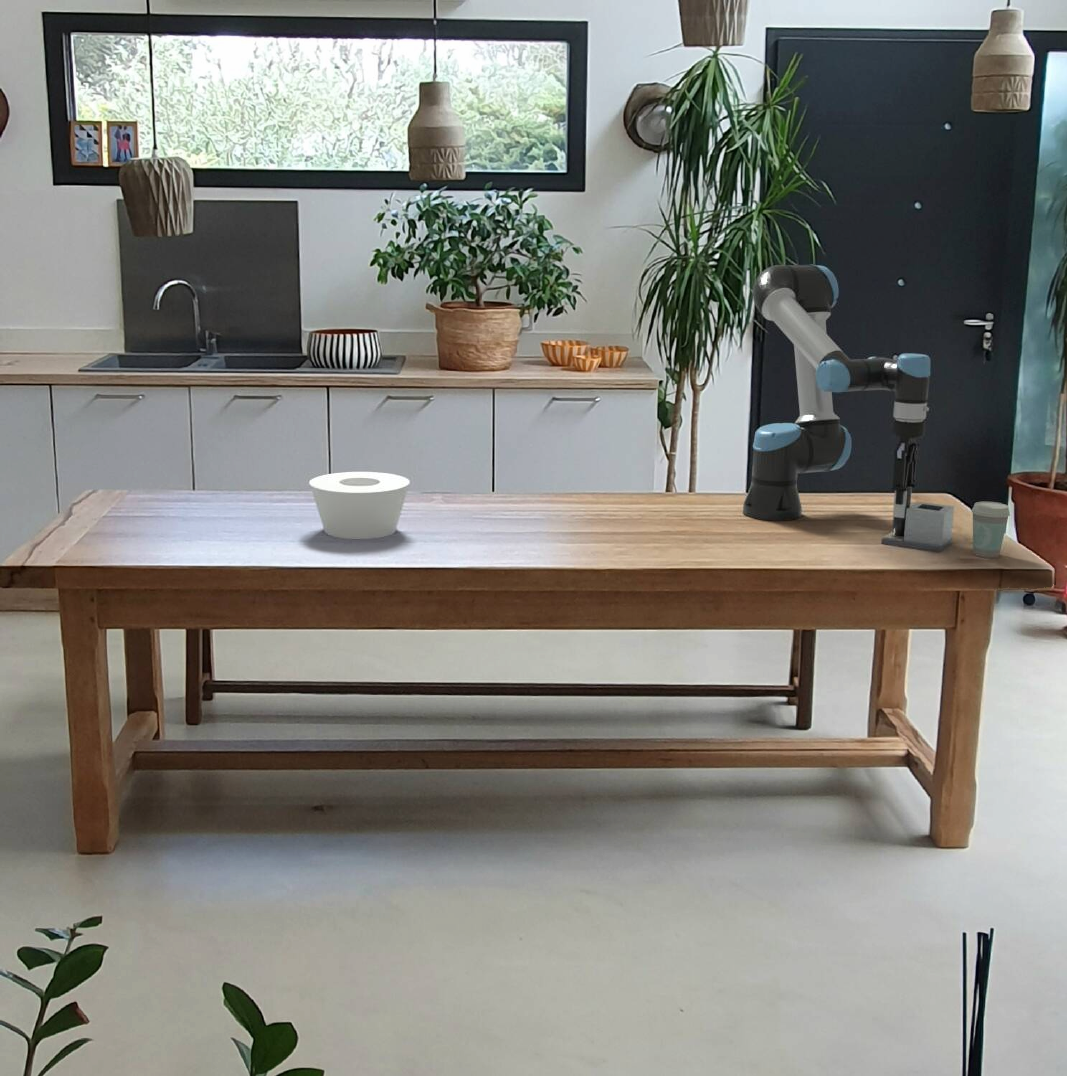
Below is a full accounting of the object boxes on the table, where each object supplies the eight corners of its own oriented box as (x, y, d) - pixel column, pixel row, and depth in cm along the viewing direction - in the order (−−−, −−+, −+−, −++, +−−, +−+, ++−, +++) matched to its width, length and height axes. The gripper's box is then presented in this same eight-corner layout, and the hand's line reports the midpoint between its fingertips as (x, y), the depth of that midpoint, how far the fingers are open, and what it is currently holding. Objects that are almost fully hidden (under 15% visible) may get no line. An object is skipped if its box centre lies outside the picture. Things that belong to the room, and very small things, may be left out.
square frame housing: (881, 543, 325) (884, 506, 322) (894, 534, 334) (897, 498, 331) (939, 552, 318) (943, 514, 315) (951, 542, 327) (955, 505, 325)
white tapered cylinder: (428, 526, 332) (428, 479, 329) (372, 547, 311) (372, 497, 308) (348, 514, 343) (348, 468, 340) (289, 533, 322) (288, 484, 319)
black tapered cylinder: (904, 537, 325) (909, 488, 322) (890, 535, 327) (894, 486, 324) (908, 534, 328) (913, 486, 325) (894, 532, 330) (898, 484, 327)
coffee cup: (961, 550, 320) (966, 500, 317) (996, 550, 321) (1001, 500, 318) (975, 559, 312) (981, 509, 309) (1011, 559, 313) (1017, 509, 310)
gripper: (915, 425, 312) (907, 524, 317) (934, 416, 326) (925, 511, 331) (883, 422, 315) (875, 519, 321) (903, 413, 329) (895, 507, 335)
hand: (901, 515), depth 326 cm, fingers closed on black tapered cylinder, 3 cm apart
